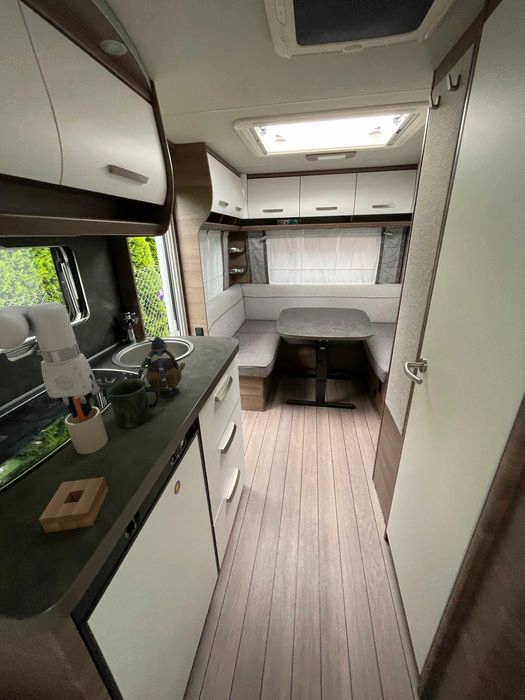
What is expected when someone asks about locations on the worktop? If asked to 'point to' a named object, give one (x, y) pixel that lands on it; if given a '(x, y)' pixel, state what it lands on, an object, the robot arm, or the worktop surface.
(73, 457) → the worktop surface
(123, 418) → the mug
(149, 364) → the teapot
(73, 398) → the orange rod
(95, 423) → the cup
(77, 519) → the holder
